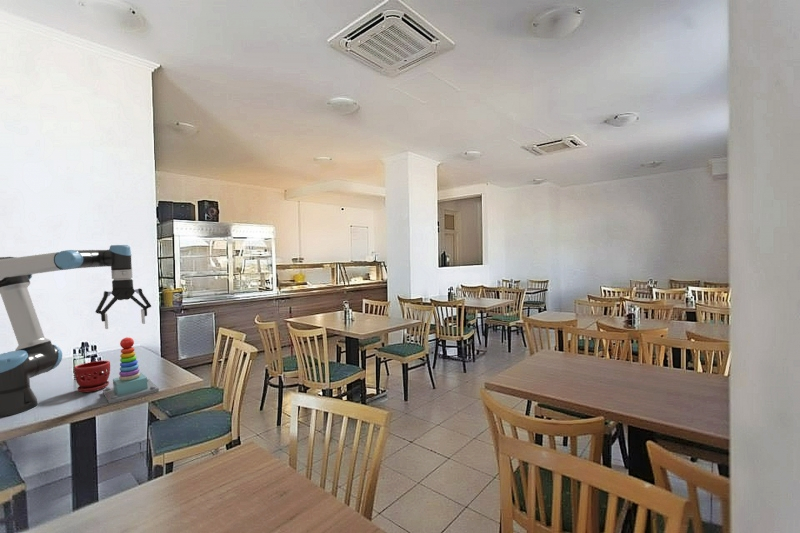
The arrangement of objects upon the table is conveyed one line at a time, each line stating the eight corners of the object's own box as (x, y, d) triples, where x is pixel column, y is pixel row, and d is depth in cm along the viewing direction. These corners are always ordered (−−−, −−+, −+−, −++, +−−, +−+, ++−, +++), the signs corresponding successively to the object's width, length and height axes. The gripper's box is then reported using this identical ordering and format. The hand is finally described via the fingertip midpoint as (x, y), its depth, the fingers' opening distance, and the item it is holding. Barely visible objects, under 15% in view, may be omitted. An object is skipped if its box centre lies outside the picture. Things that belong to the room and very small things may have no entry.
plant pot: (114, 387, 178) (113, 362, 177) (79, 396, 168) (77, 370, 167) (107, 381, 186) (106, 358, 186) (73, 389, 176) (71, 364, 176)
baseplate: (109, 403, 158) (108, 388, 158) (103, 393, 171) (102, 379, 170) (158, 391, 171) (157, 377, 170) (149, 382, 183) (148, 369, 183)
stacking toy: (144, 375, 174) (142, 335, 173) (131, 381, 166) (128, 339, 165) (128, 375, 175) (126, 335, 174) (114, 381, 167) (111, 340, 166)
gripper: (87, 282, 156) (91, 332, 158) (156, 277, 174) (159, 322, 175) (85, 281, 162) (88, 329, 163) (152, 276, 179) (155, 320, 180)
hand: (125, 325), depth 169 cm, fingers open, 13 cm apart
